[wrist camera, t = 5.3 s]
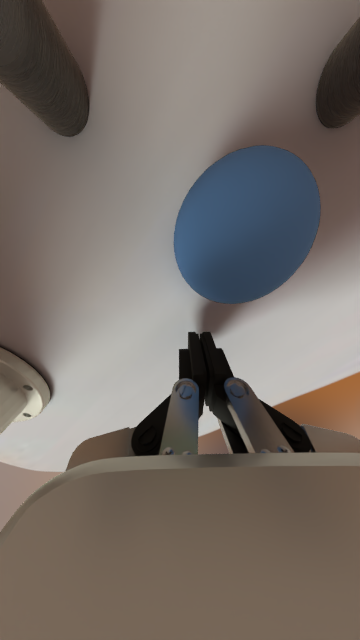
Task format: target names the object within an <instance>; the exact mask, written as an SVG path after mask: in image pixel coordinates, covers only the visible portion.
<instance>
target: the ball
mask: <svg viewBox="0 0 360 640" xmlns="http://www.w3.org/2000/svg"><path fill="white" fill-rule="evenodd" d="M320 208H321V206H320V196H319V191H318V187H317V184H316V181H315V179H314V177H313V175H312V173H311V171H310V170H309V168H308V167H307V165H306V164H305V163H304V162H303V161H302V160H301V159H300V158H298V157H297V156H296V155H294V154H293V153H291V152H289V151H287V150H284V149H281V148H277V147H274V146H265V145H261V146H252V147H248V148H244V149H239V150H237V151H234V152H232V153H230V154H228V155H226V156H225V157H223V158H221V159H220V160H218V161H217V162H215V163H214V164H213V165H211V166H210V167H209V168H208V169H207V170H206V171H205V172H204V173H203V174H202V175H201V176H200V177H199V178H198V179H197V181H196V182H195V183H194V185H193V186H192V187H191V189H190V190H189V192H188V194H187V195H186V197H185V199H184V201H183V203H182V206H181V208H180V211H179V213H178V217H177V220H176V226H175V232H174V252H175V257H176V261H177V264H178V267H179V270H180V272H181V274H182V276H183V277H184V279H185V281H186V282H187V283H188V284H189V285H190V287H191V288H192V289H194V290H195V291H196V292H197V293H198V294H200V295H201V296H203V297H205V298H207V299H209V300H212V301H215V302H220V303H226V304H236V303H244V302H249V301H252V300H255V299H258V298H260V297H263V296H265V295H267V294H269V293H271V292H272V291H274V290H275V289H277V288H278V287H279V286H281V285H282V284H283V283H284V282H286V281H287V280H288V279H289V278H290V277H291V276H292V275H293V274H294V273H295V271H296V270H297V269H298V268H299V266H300V265H301V264H302V263H303V261H304V259H305V258H306V256H307V255H308V253H309V251H310V249H311V247H312V244H313V242H314V239H315V236H316V234H317V230H318V226H319V220H320Z"/></svg>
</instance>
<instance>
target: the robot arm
mask: <svg viewBox="0 0 360 640" xmlns="http://www.w3.org/2000/svg"><path fill="white" fill-rule="evenodd" d="M204 399H205V404H206V406H209V410H210V411H213V414H214V415H215V416H216V417H217V418H218V423H219V425H220V428H221V431H222V434H223V437H224V439H225V442H226V445H227V448H228V450H229V453H230V454H201V455H198V419H199V418H200V417H201V415H202V414H203V406H204ZM49 400H50V391H49V388H48V385H47V384H46V382H45V381H44V379H43V378H42V376H41V375H40V374H39V373H38V372H37V371H36V370H35V369H34V368H32V367H31V366H30V365H29V364H27V363H26V362H25V361H23V360H22V359H20V358H19V357H17V356H16V355H14V354H12V353H11V352H9V351H7V350H5V349H3V348H1V347H0V434H1V433H2V432H3V431H4V430H5V429H6V428H7V427H8V426H9V425H10V424H11V423H12V422H20V421H25V420H29V419H31V418H34V417H36V416H37V415H39V414H40V413H41V412H42V411H43V409H44V408H45V407H46V406H47V404H48V403H49ZM0 640H360V440H359V439H357V438H355V437H354V436H351V435H349V434H346V433H342V432H337V431H332V430H328V429H323V428H318V427H314V426H310V425H305V424H302V425H301V426H300V425H298V424H297V423H295V422H294V421H293V420H291V419H290V418H288V417H286V416H285V415H283V414H282V413H280V412H278V411H277V410H275V409H274V408H272V407H271V406H269V405H268V404H266V403H264V402H263V401H261V400H260V399H258V398H257V396H256V395H255V393H254V392H253V390H252V389H251V387H250V386H249V385H248V384H247V383H246V382H245V381H244V380H242V379H239V378H235V377H234V376H233V373H232V371H231V369H230V366H229V364H228V362H227V359H226V357H225V354H224V352H223V350H222V349H221V348H216V346H215V343H214V341H213V338H212V335H211V333H210V332H203V333H202V334H200V339H199V335H198V334H196V332H188V349H179V380H178V381H177V382H176V383H175V384H174V386H173V389H172V394H171V395H170V396H169V397H168V398H166V399H165V400H164V401H163V402H162V403H161V404H160V405H159V406H158V407H157V408H156V409H155V410H153V411H152V412H151V413H150V414H149V415H148V416H147V417H146V418H145V419H144V420H143V421H142V422H141V423H139V425H138V426H137V427H134V428H131V429H130V428H129V427H128V428H124V429H121V430H117V431H114V432H110V433H107V434H103V435H100V436H96V437H93V438H89V439H87V440H85V441H83V442H82V443H81V444H80V445H79V446H78V447H77V448H76V449H75V451H74V452H73V454H72V456H71V458H70V460H69V463H68V466H67V469H66V471H65V472H64V473H62V474H60V475H58V476H56V477H54V478H53V479H51V480H50V481H48V482H47V483H45V484H44V485H42V486H41V487H40V488H39V489H37V490H36V491H35V492H34V493H33V494H31V495H30V496H29V497H28V498H27V500H26V501H25V502H24V503H23V504H22V505H21V506H20V507H19V508H18V509H17V511H16V512H15V513H14V515H13V516H12V517H11V518H10V520H9V521H8V522H7V524H6V525H5V526H4V528H3V529H2V531H1V532H0Z"/></svg>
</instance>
